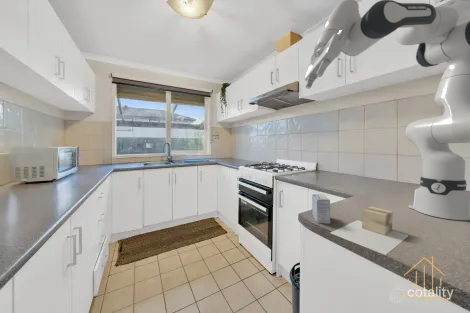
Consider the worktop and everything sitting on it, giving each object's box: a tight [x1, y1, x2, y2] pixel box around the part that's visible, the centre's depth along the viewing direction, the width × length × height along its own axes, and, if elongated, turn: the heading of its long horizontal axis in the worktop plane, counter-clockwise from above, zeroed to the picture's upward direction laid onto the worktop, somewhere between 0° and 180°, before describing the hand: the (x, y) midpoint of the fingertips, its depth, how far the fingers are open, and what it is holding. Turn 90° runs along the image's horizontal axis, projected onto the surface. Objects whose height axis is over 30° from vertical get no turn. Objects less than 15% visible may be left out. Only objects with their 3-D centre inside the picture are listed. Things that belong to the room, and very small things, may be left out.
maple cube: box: [361, 206, 394, 235], centre depth 58 cm, size 6×6×6 cm
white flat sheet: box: [330, 219, 409, 256], centre depth 55 cm, size 18×14×1 cm
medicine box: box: [311, 193, 331, 225], centre depth 67 cm, size 8×4×9 cm, turn 168°
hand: (312, 82), depth 64 cm, fingers open, 8 cm apart
